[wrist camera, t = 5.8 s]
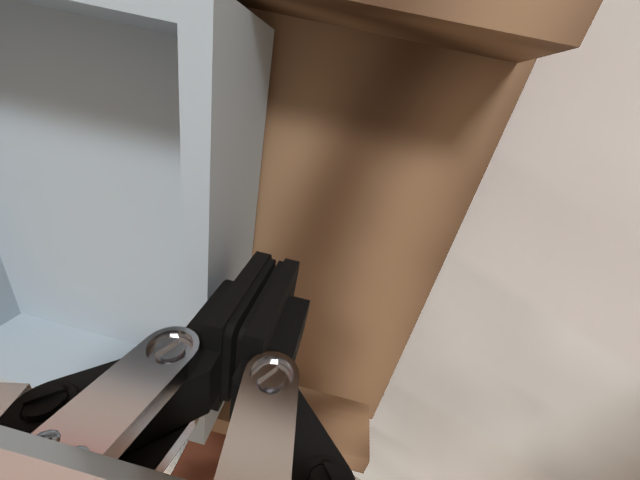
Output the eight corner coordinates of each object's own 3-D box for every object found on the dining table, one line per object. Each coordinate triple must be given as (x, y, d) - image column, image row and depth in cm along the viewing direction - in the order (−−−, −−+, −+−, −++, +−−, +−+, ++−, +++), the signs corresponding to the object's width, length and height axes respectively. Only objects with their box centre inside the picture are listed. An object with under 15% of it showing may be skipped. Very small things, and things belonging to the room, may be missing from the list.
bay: (536, 28, 10) (686, -38, 5) (371, 403, 18) (373, 500, 14) (-95, -99, 11) (-431, -246, 6) (39, 314, 20) (-58, 377, 15)
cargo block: (272, 423, 21) (240, 532, 16) (265, 459, 23) (235, 566, 18) (207, 405, 21) (153, 507, 16) (206, 443, 24) (159, 543, 18)
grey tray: (274, 30, 10) (213, -17, 6) (240, 369, 17) (204, 444, 13) (-99, -49, 10) (-373, -138, 6) (26, 311, 18) (-67, 368, 14)
